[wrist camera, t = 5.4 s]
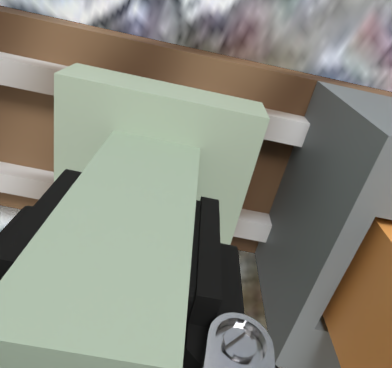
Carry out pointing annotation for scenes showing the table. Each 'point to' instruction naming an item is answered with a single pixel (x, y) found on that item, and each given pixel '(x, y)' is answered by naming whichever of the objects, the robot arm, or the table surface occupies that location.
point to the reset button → (365, 303)
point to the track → (149, 68)
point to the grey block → (323, 218)
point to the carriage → (125, 220)
